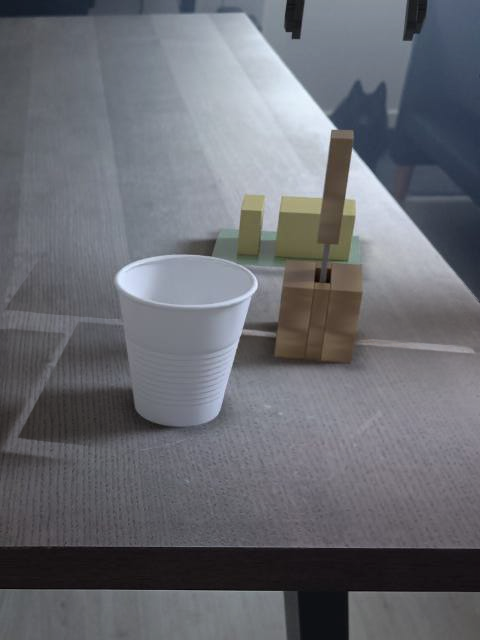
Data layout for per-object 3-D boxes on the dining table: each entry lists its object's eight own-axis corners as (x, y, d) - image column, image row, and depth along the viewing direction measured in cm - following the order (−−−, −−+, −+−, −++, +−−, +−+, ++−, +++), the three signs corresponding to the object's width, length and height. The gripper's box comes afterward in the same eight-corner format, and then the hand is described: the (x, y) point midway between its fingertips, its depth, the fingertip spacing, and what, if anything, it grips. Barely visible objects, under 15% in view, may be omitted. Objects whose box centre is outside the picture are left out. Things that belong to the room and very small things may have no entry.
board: (357, 250, 106) (359, 235, 106) (357, 286, 98) (360, 271, 97) (218, 242, 110) (219, 228, 109) (208, 276, 102) (209, 261, 101)
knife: (323, 338, 87) (353, 129, 77) (323, 351, 84) (353, 138, 75) (304, 336, 87) (331, 129, 78) (303, 349, 85) (330, 138, 76)
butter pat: (261, 238, 106) (265, 195, 103) (257, 255, 102) (262, 210, 99) (241, 237, 106) (245, 194, 104) (236, 254, 102) (240, 209, 100)
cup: (267, 438, 75) (283, 295, 69) (137, 459, 73) (143, 315, 67) (210, 379, 83) (221, 247, 77) (93, 397, 81) (94, 263, 75)
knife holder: (349, 343, 88) (362, 264, 84) (349, 374, 83) (362, 292, 79) (277, 337, 89) (286, 259, 86) (273, 367, 85) (282, 286, 81)
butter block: (349, 243, 104) (355, 199, 101) (349, 261, 100) (355, 215, 97) (277, 239, 105) (281, 195, 103) (274, 256, 101) (279, 211, 99)
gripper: (285, -175, 83) (260, 2, 80) (475, -183, 80) (458, 3, 76) (281, -104, 90) (259, 61, 87) (456, -108, 87) (439, 64, 84)
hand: (352, 34), depth 82 cm, fingers open, 8 cm apart
